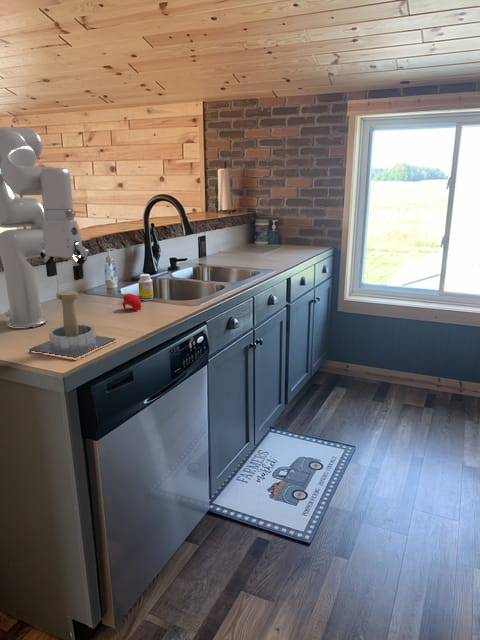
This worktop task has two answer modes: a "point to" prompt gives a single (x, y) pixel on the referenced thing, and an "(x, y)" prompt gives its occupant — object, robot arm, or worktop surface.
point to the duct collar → (72, 342)
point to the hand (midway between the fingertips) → (65, 277)
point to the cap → (132, 301)
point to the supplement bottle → (145, 287)
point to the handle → (69, 312)
